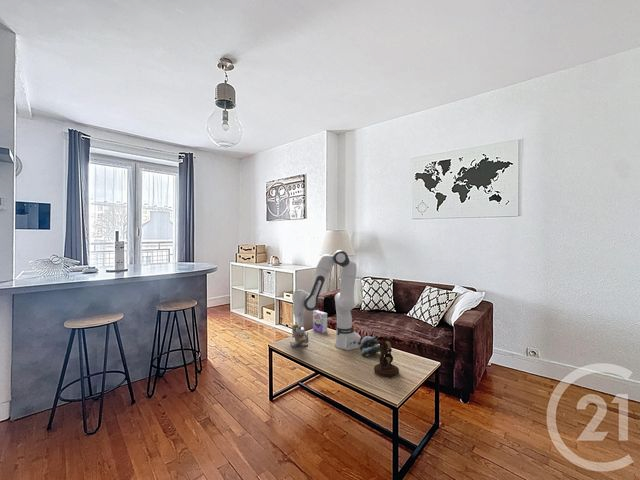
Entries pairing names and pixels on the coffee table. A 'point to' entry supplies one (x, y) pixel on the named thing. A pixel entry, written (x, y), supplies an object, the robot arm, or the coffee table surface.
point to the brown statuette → (386, 360)
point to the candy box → (320, 321)
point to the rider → (300, 331)
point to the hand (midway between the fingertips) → (299, 329)
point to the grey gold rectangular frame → (299, 338)
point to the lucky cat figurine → (368, 345)
